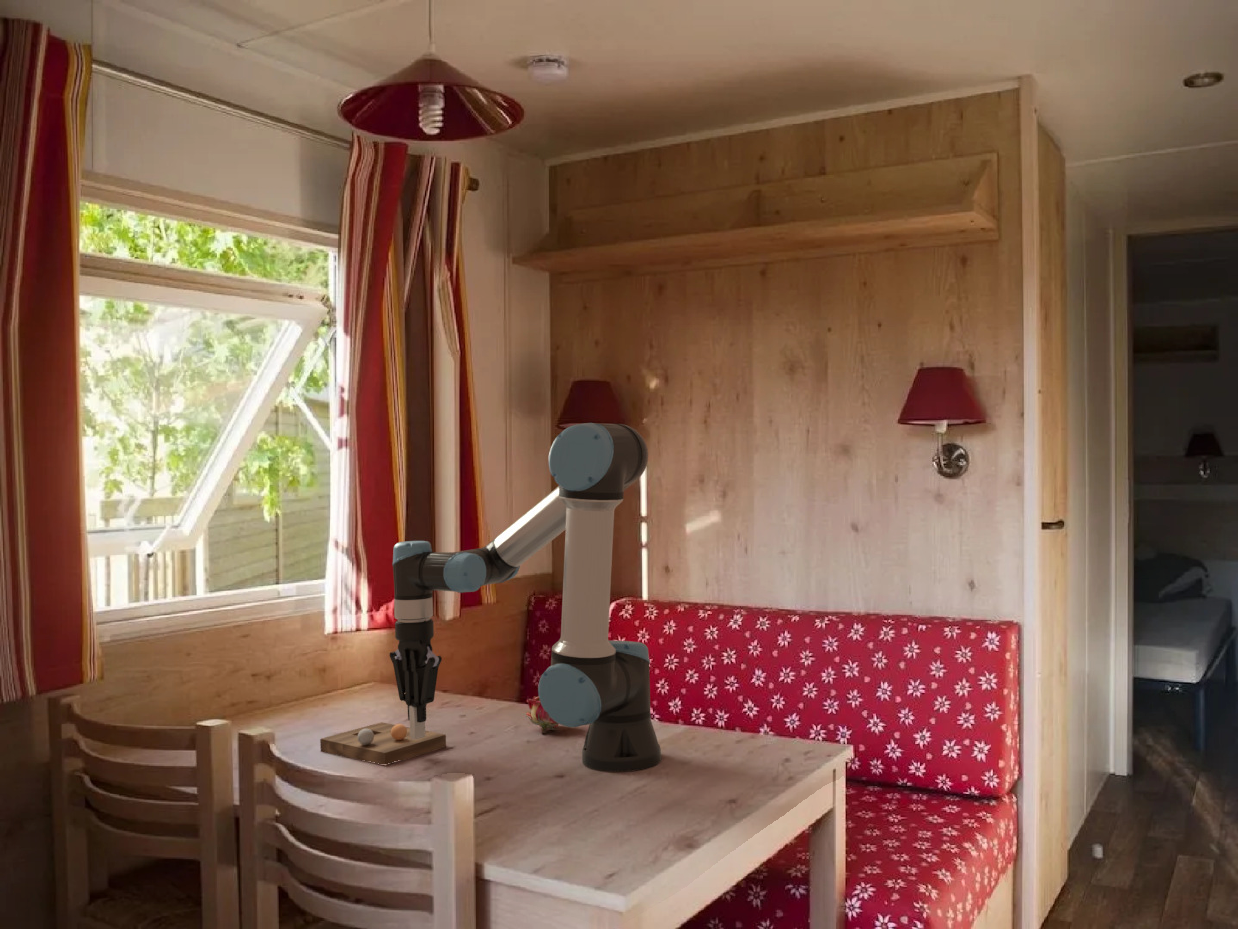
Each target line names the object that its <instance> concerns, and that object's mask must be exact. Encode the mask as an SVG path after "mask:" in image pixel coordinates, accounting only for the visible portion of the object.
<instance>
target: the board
mask: <svg viewBox="0 0 1238 929" xmlns="http://www.w3.org/2000/svg"><path fill="white" fill-rule="evenodd" d="M395 725H396V724H392V723H387V722H381V721H380V722H378V723H377V722H376V723H374V724H370V725H367V726H364V727H363V726H362V727H358V728H355V729H351V730H348V731H344V732H340V733H337V734H333V735H329V736H326V737H321V738H320V739H319V743H320V745H319V746H320V752H324V753H328V754H331V755H332V754H333V755H336V754H337V755H336V756H340V755H342V756H341V757H345V756H346V757H345V758H349V757H350V759H353V758H354V759H353V760H359V761H362V760H365V761H364V762H366V761H371V762H375V763H379V764H388V763H392V762H394V761H398V760H402V761H405V760H408V758H409V759H412V758H414V757H418V756H420V755H421V754H422V755H424V754H427V753H430V752H434V751H437V750H440V749H443V748H446V747H447V736H446V735H447V734H443V733H441V732H440V733H438V732H435V731H434V732H433V731H427V730H425V737H423V738H419V739H416V740H414V739H410V726H409V727H407V726H405V727H406V729H407V735H406V737H405V738H404V739H402V740H395V739H394V738H393V737H392V735H391V730H392V728H393V727H394V726H395ZM362 729H370V730H371V731H372V732H373V734H374V739H373V741H372V742H371V743H370V744H368V745H362V744H361V743H359V741H358V733H359V732H360V731H361V730H362ZM417 755H418V756H417ZM422 755H421V756H422ZM411 757H412V758H411ZM404 759H405V760H404ZM371 762H370V763H371ZM375 763H374V764H375ZM379 764H378V765H379Z"/></svg>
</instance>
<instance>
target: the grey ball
mask: <svg viewBox="0 0 1238 929" xmlns="http://www.w3.org/2000/svg"><path fill="white" fill-rule="evenodd" d="M373 739H374V734H373V732H372V731H371V730H370V729H362V730H361V731H360V732H359V733H358V741H359V743H361V744H362V745H368V744H370V743H371V742H372V741H373Z"/></svg>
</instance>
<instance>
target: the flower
mask: <svg viewBox="0 0 1238 929" xmlns="http://www.w3.org/2000/svg"><path fill="white" fill-rule="evenodd" d="M526 702H527V704H528V708H529V710H530V711H529V712H526V716H527V719H529V721H530V722H531V723H532V724H534V725H535V726H539V727H541V730H540V733H541V734H542V735H545V733H546V730H547V729H549V730H550V731H558V730H561V731H562V728H557V727H558V726H559V725H560V724H559V723H557V722H555V721H554V720H553V719H552V718H550V716H549V714H548V713H547V712H546V711H545V710H544V708H543V707H542V704H541V702H540V699H539V695H538V696H535V695H534V696H533V697H532V698H528V699H526Z"/></svg>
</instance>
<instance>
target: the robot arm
mask: <svg viewBox="0 0 1238 929" xmlns="http://www.w3.org/2000/svg"><path fill="white" fill-rule="evenodd" d="M648 460H649V451H648V446H647V443H646V441H645V439H644V437H643V436H642V435H641V433H639V432H638V431H637V430H636V429H635V428H633V427H631V426H629V425H627V424H623V423H594V422H587V423H586V422H585V423H584V422H583V423H578V424H574V425H571V426H568V427H567V428H565V429H564V430H562V431H561V432H560V433H559V434H558V435H557V436H556V437H555V439H554V440H553V442H552V444H551V446H550V449H549V453H548V469H549V472H550V476H552V477H553V478H554V482H556V484H557V485H558V486H557V487H555V489H553V490H552V491H551V492H550V493H548V494H547V495H546V496H545V497H544V498H542V499H541V500H540V501H539V502H538V503H536V504H535V505H534V506H533V507H531V508H530V509H529V510H528V511H527V512H525V513H524V514H522V516H520V517H519V518H517V520H516V521H514V522H513V523H511V525H509V526H508V527H507V528H506V529H504V530H503V531H502V532H500V533H499V534H498V535H496V537H495V538H494V539H492V541H490V542H489V543H488V544H486V545H485V546H483V547H479V548H474V549H473V548H472V549H466V550H460V551H459V550H458V551H453V552H448V551H447V552H442V551H441V552H439V551H438V552H437V551H436V552H434V551H433V549H432V544H431V542H430V541H427V540H426V541H425V540H409V541H399V542H396V544H394V546H393V552H392V553H393V554H392V564H391V565H392V574H393V585H394V586H393V589H394V594H393V595H394V596H393V598H394V599H393V603H394V604H393V607H394V608H393V610H394V612H393V613H394V614H393V615H394V619H396V621H395V623H394V632H395V633H394V634H395V635H394V637H395V640H397V641H398V645H397V649H396V650H394V651H392V652H390V653H389V658H390V660H391V662H392V665H393V671H394V676H395V681H396V688H397V693H398V698H399V700H400V701H401V702H402V701H403V702H405V705H407V720H408V721H409V728H410V739H414V740H416V739H419V738H423V737H425V731H426V721H427V705H428V704H430V703H433V702H434V700H435V693H436V687H437V681H438V680H437V679H438V675H439V674H438V672H439V666H441V663H442V656H441V655H436V654H435V653H434V652H433V647H432V646H433V645H432V642H431V640H432V639H433V637H434V635H435V634H434V632H435V630H434V620H433V619H432V618H433V617H434V606H433V591H439V592H440V591H441V592H455V593H458V594H459V593H461V594H462V593H471V592H472V593H474V592H477V591H478V590H479V589H480V588H481V587H482V586H488V585H493V584H502V583H504V582H506V581H509V580H512V579H513V578H515V577H516V576H517V574H518V573H519V570H520V567H521V566H522V565H523V564H524V563H525V562H527V561H528V560H529V559H530V558H532V557H533V556H534V555H535V554H536V553H538V552H540V550H542V549H543V548H544V547H545V546H547V545H548V544H549V543H551V542H552V541H553V540H554V539H556V538H557V537H558V536H560V535H561V534H562V533H563V532H564V531H565V537H564V538H565V540H564V560H563V580H562V582H563V583H562V600H561V601H562V602H561V603H562V605H561V624H560V625H561V626H560V628H561V629H560V638H559V639H558V641H556V642H555V643H554V644H553V645H552V647H551V659H550V666H548V667H547V668H546V670H544V672H543V673H542V674H541V675H540V678H539V681H538V686H537V688H538V689H537V692H538V693H537V694H538V696H539V699H540V702H541V704H542V707H543V708H544V710H545V711H546V712H547V713H548V714H549V716H550V718H552V719H553V720H554V721H555V722H557V723H559V725H561V726H564V727H567V728H579V727H582V726H588V725H589V726H588V728H587V732H586V735H585V740H584V744H583V747H582V750H581V753H582V754H581V758H582V759H581V763H582V764H583V765H584V766H585V767H588V768H589V769H593V770H597V771H603V772H604V771H605V772H631V771H632V772H633V771H639V770H640V771H641V770H644V769H649V768H652V767H654V766H656V765H658V764H659V763H661V761H662V752H661V751H662V750H661V746H660V744H659V742H658V738H657V735H656V731H655V728H654V724H653V723H652V718H651V676H650V664H651V661H650V655H649V648H648V646H647V645H646V644H645V643H643V642H640V641H630V640H610V639H609V629H610V628H609V627H610V626H609V625H610V607H611V606H610V604H611V587H612V586H611V585H612V582H611V581H612V568H613V566H612V562H613V540H614V525H615V524H614V523H615V509H616V508H617V507H618V506H619V505H620V504H621V503H623V501H624V492H625V490H626V489H628V488H629V487H630V486H632V485H633V484H635V483H636V482H637V481H638V480H639V479H640V478H641V476H642V475H643V474H644V472H645V470H646V469H647V465H648V462H649V461H648Z"/></svg>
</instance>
